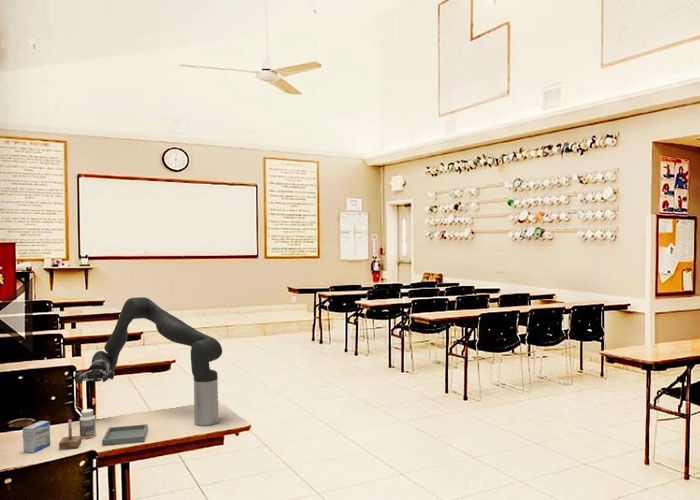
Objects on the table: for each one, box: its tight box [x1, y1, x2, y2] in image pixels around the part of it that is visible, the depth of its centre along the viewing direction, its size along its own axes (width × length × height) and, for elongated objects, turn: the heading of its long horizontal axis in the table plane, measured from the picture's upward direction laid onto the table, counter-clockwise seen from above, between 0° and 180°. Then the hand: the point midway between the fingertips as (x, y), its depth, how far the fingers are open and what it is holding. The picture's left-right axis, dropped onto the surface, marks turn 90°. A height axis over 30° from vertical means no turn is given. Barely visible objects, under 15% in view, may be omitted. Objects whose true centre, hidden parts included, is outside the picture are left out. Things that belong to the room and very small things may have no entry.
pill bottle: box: [79, 408, 97, 440], centre depth 207 cm, size 5×5×10 cm
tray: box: [101, 423, 149, 447], centre depth 206 cm, size 14×14×2 cm
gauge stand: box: [58, 418, 82, 451], centre depth 197 cm, size 6×6×10 cm
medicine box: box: [22, 420, 51, 454], centre depth 195 cm, size 8×4×9 cm, turn 168°
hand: (91, 380), depth 217 cm, fingers open, 8 cm apart
